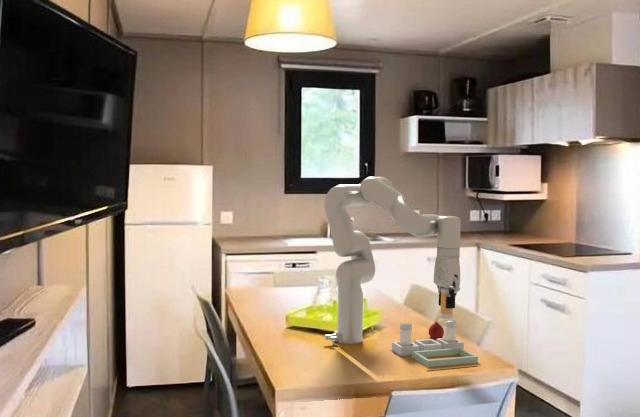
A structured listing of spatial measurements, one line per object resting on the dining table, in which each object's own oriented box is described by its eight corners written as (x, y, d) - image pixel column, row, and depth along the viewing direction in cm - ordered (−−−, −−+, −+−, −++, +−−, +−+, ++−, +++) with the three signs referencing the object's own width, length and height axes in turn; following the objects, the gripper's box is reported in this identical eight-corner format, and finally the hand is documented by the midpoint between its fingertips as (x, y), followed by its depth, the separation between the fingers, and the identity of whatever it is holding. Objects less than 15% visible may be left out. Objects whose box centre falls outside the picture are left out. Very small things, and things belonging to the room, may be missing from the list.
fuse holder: (400, 361, 210) (400, 348, 210) (389, 353, 219) (389, 341, 219) (466, 355, 219) (466, 343, 219) (452, 348, 227) (453, 336, 227)
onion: (444, 340, 239) (445, 320, 238) (442, 344, 233) (443, 323, 233) (429, 338, 241) (430, 318, 240) (427, 342, 235) (427, 321, 235)
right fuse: (447, 350, 219) (448, 323, 219) (441, 347, 223) (442, 320, 222) (457, 349, 220) (458, 322, 220) (451, 346, 224) (452, 319, 224)
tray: (427, 371, 200) (428, 360, 200) (411, 361, 210) (412, 351, 210) (477, 366, 206) (478, 356, 206) (459, 357, 216) (460, 347, 216)
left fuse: (402, 354, 213) (403, 326, 213) (397, 351, 217) (398, 323, 217) (413, 353, 215) (413, 325, 214) (407, 350, 218) (408, 322, 218)
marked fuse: (444, 319, 204) (445, 289, 204) (438, 316, 208) (438, 287, 208) (454, 318, 206) (455, 288, 205) (448, 315, 210) (449, 286, 209)
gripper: (426, 250, 213) (424, 302, 214) (451, 256, 197) (450, 312, 198) (445, 249, 215) (443, 301, 216) (471, 255, 199) (470, 311, 200)
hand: (446, 306), depth 207 cm, fingers closed on marked fuse, 4 cm apart
